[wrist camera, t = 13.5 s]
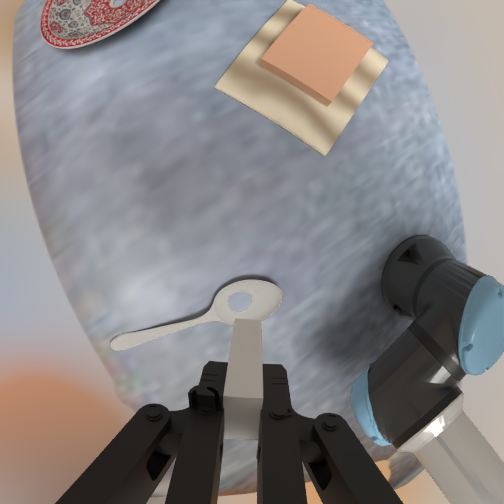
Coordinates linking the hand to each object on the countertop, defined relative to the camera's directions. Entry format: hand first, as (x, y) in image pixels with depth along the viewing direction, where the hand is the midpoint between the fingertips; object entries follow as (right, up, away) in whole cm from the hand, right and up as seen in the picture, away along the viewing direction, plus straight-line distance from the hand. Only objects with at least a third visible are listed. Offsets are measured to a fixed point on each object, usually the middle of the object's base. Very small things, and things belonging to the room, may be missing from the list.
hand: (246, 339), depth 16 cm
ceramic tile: (+7, +30, +20) cm, 37 cm away
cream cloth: (+9, +34, +22) cm, 41 cm away
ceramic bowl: (-25, +53, +17) cm, 62 cm away
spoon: (-11, -7, +33) cm, 35 cm away
